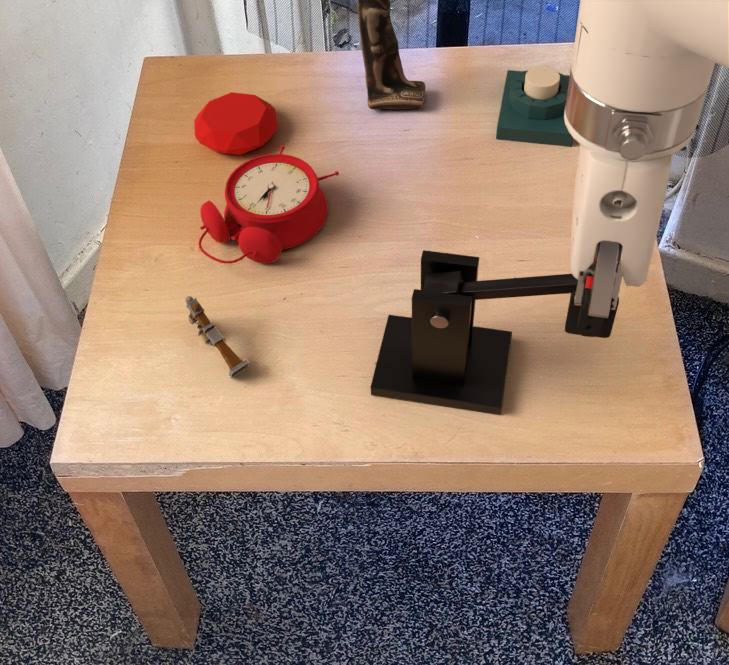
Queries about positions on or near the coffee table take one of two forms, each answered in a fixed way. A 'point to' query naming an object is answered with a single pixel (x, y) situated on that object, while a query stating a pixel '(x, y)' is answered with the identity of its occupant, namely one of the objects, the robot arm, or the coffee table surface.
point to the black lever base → (443, 347)
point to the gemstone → (235, 123)
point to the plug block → (532, 113)
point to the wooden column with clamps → (214, 337)
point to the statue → (385, 60)
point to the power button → (541, 82)
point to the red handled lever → (502, 285)
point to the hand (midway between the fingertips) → (589, 300)
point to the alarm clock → (268, 207)
